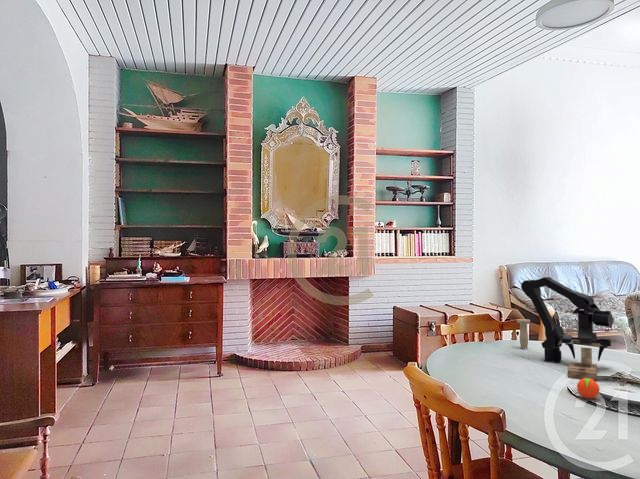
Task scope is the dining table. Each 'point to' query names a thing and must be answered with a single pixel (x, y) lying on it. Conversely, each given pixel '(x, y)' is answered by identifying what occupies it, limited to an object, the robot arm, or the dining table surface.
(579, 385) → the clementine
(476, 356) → the dining table surface
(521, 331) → the handle
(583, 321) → the robot arm
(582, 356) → the peg
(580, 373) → the socket block
